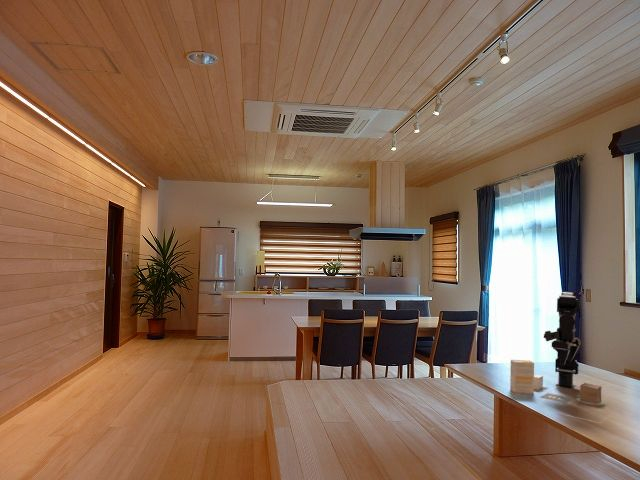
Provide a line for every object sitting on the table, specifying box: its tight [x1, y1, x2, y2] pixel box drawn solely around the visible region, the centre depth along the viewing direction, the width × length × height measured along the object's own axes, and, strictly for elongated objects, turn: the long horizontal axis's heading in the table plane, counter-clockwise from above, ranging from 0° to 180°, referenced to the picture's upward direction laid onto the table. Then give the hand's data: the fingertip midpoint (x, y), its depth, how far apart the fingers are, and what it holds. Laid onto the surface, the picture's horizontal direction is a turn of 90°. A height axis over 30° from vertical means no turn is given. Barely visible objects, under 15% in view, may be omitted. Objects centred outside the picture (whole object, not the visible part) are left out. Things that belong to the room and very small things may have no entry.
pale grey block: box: [534, 373, 544, 391], centre depth 208 cm, size 5×5×5 cm
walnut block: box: [579, 382, 602, 405], centre depth 191 cm, size 6×6×6 cm
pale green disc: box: [575, 397, 606, 406], centre depth 190 cm, size 10×10×1 cm
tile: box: [534, 386, 549, 392], centre depth 208 cm, size 9×9×1 cm
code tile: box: [539, 392, 575, 404], centre depth 193 cm, size 10×10×1 cm
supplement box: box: [509, 359, 535, 395], centre depth 201 cm, size 8×5×13 cm, turn 84°
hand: (566, 363), depth 201 cm, fingers open, 9 cm apart
